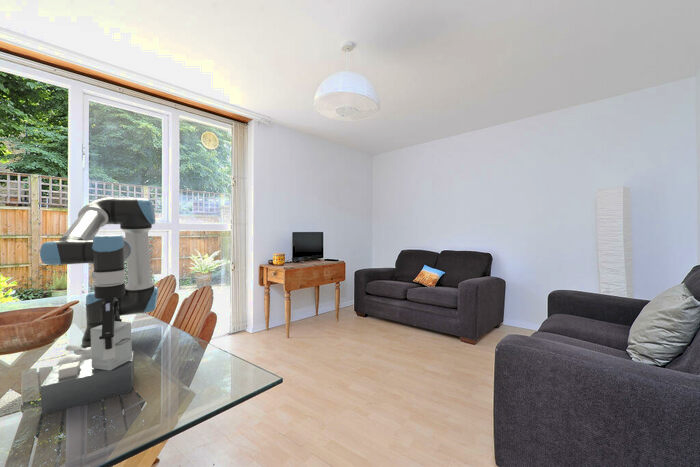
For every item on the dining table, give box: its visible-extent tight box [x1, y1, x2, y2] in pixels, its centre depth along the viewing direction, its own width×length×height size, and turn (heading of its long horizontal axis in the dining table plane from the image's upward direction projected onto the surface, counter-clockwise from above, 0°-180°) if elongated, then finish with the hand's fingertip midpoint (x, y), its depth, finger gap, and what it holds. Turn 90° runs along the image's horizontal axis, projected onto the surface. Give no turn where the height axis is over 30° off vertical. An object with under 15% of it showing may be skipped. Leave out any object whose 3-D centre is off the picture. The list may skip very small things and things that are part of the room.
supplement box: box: [90, 321, 133, 371], centre depth 93 cm, size 7×7×13 cm
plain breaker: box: [58, 361, 80, 379], centre depth 88 cm, size 4×4×5 cm
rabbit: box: [55, 344, 91, 366], centre depth 100 cm, size 12×9×12 cm
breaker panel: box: [40, 350, 135, 416], centre depth 92 cm, size 14×20×9 cm
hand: (112, 350), depth 93 cm, fingers open, 13 cm apart
